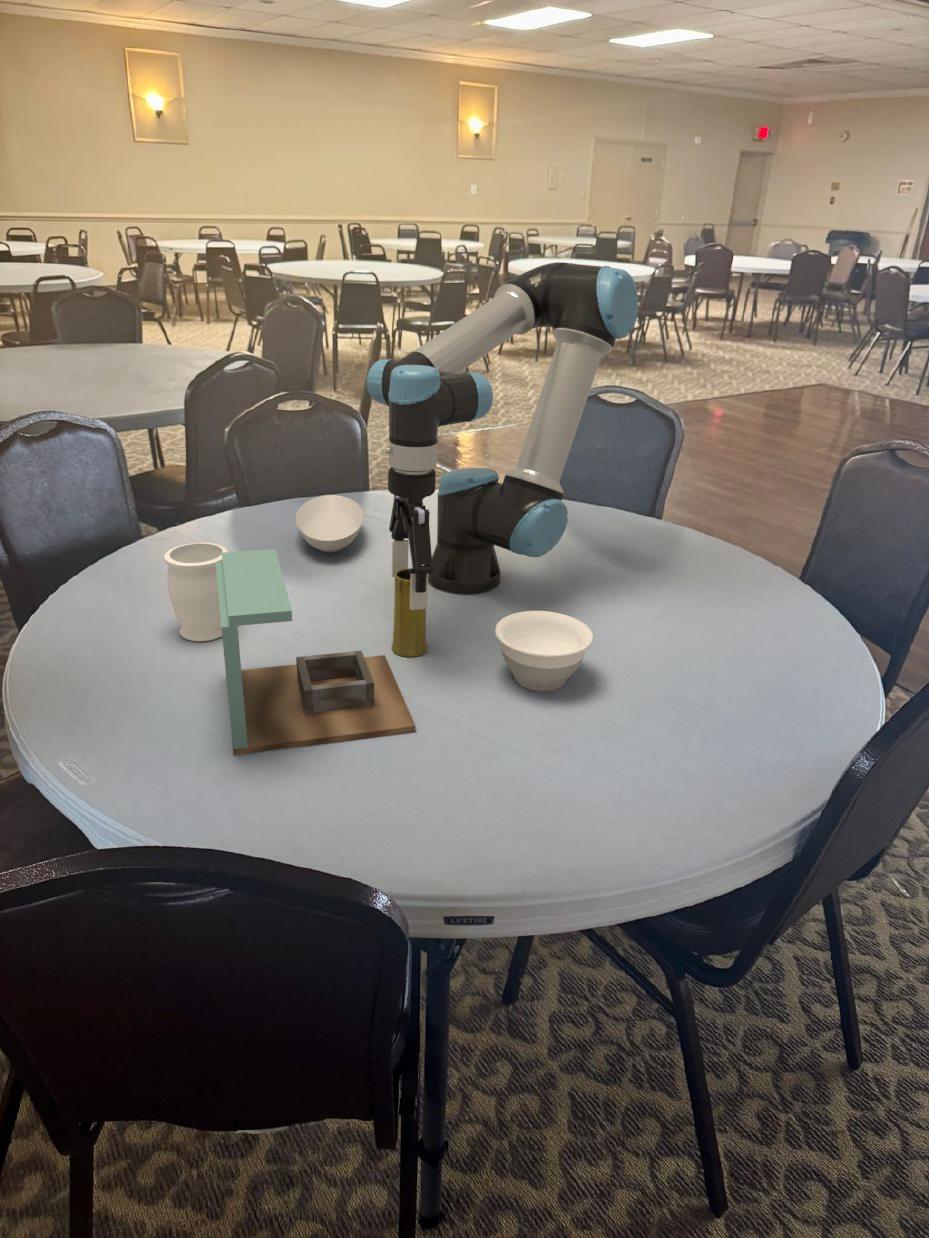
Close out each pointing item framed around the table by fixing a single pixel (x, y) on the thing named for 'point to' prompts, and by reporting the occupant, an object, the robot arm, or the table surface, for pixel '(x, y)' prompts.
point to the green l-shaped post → (247, 616)
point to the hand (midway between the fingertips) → (408, 591)
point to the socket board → (322, 702)
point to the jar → (195, 589)
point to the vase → (407, 620)
